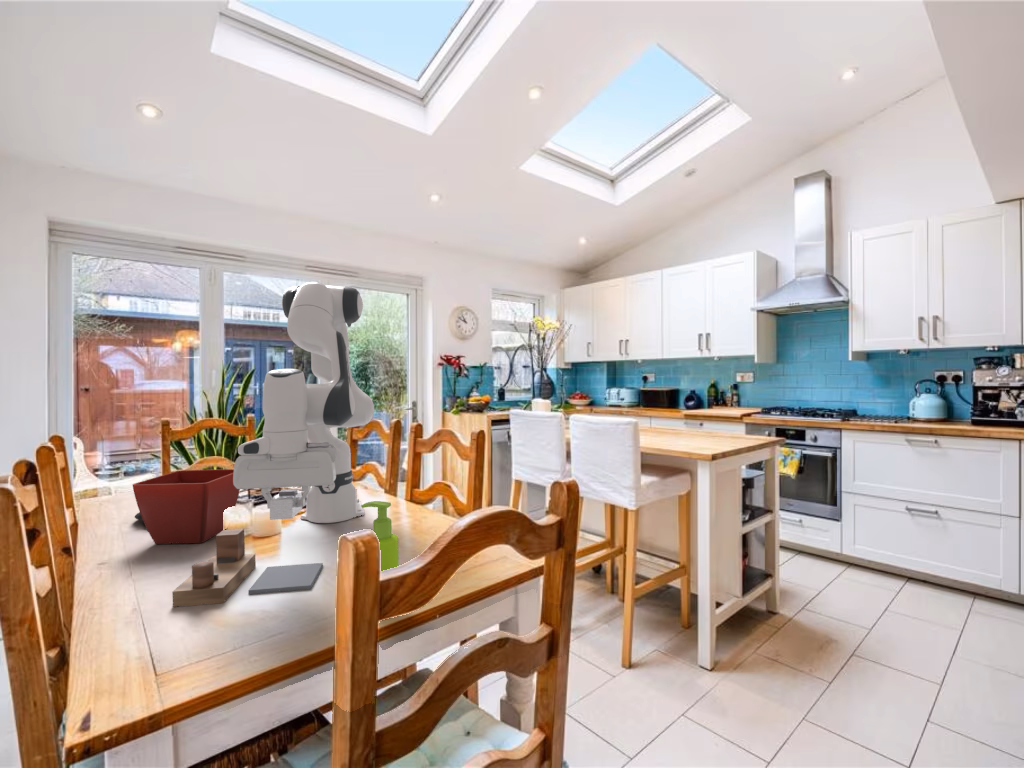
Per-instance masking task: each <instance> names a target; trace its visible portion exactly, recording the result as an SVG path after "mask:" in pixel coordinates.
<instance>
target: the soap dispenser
mask: <svg viewBox="0 0 1024 768" xmlns="http://www.w3.org/2000/svg"><path fill="white" fill-rule="evenodd" d="M391 506H392V502H389V501H388V502H387V501H380V500H379V501H378V500H375V501H373V500H372V501H368V502H365V503H363V504H362V505H361V507H362V508H363V509H364V508H377V517H376V518H375V519H374V520H373V526H372V527H373V528H372V531H374V532H375V533H376V535H377V537H378V539H379V542H380V550H381V571H383V570H387V569H390V568H394V567H397V566H399V565H400V564H399V559H400V558H399V554H400V553H399V535H397V534H395V533H392V529H393V528H392V526H393V525H392V519H391V518H390V517H389V516H388V508H389V507H391ZM399 567H400V566H399Z"/></svg>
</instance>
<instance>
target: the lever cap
mask: <svg viewBox="0 0 1024 768" xmlns="http://www.w3.org/2000/svg"><path fill="white" fill-rule="evenodd" d="M302 493H303V491H302V490H298V488H288V489H281V490H279V492H278V494H276V495H275V496H274V497H272V499H271V500H270V509H269V520H272V521H273V520H274V521H275V520H289V519H291V520H292V519H294V518H295V516H296V515H297V514H299V512H301V510H302V509H303V507H296V504H297V503H296V499H298V497H302V495H303V494H302Z"/></svg>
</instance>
